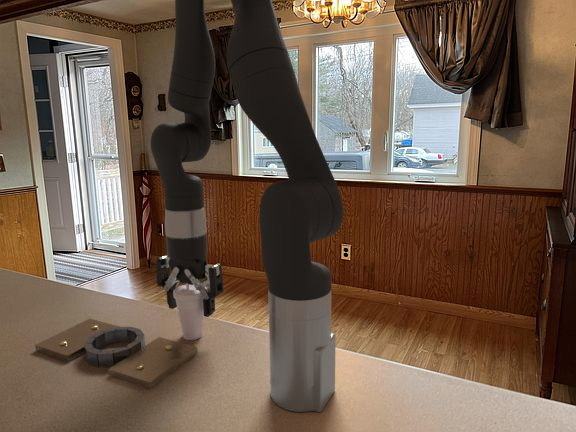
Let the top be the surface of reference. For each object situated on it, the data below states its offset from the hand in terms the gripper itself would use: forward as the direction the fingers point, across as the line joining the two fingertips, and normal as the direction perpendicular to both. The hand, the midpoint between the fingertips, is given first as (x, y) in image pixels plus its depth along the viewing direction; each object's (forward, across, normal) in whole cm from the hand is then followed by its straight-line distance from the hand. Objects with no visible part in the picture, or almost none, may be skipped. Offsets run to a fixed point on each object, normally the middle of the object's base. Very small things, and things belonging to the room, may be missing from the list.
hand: (190, 311), depth 83 cm
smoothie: (+5, 0, 0) cm, 5 cm away
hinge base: (+5, +9, +11) cm, 15 cm away
